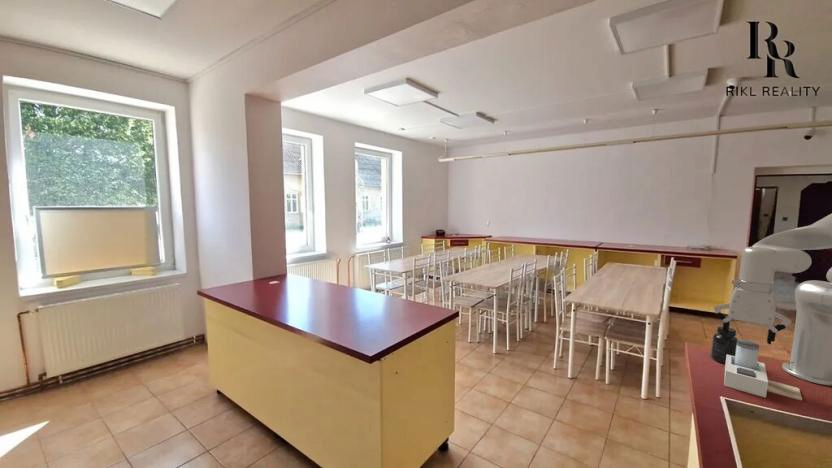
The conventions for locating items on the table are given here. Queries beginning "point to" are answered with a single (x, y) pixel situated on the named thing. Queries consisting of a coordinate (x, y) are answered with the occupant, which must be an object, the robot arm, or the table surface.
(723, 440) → the table surface
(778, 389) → the oak pad
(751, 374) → the plunger
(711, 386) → the table surface
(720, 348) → the supplement bottle
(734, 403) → the table surface
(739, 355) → the cylinder
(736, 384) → the box
